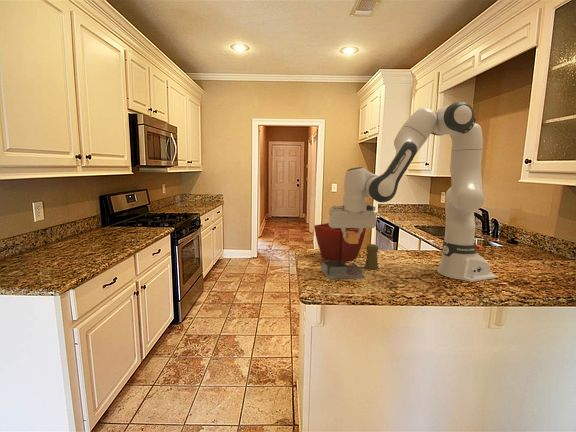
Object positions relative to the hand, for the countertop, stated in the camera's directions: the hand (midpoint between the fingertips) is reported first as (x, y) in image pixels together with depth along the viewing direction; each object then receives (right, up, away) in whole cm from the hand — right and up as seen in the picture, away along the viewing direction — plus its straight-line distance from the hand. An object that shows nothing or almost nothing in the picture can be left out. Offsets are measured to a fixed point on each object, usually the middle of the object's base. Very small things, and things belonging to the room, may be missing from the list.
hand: (351, 238), depth 127 cm
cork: (+11, -15, +10) cm, 21 cm away
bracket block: (0, -2, 0) cm, 2 cm away
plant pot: (-1, -12, +25) cm, 28 cm away
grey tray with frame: (-4, -16, +2) cm, 16 cm away
